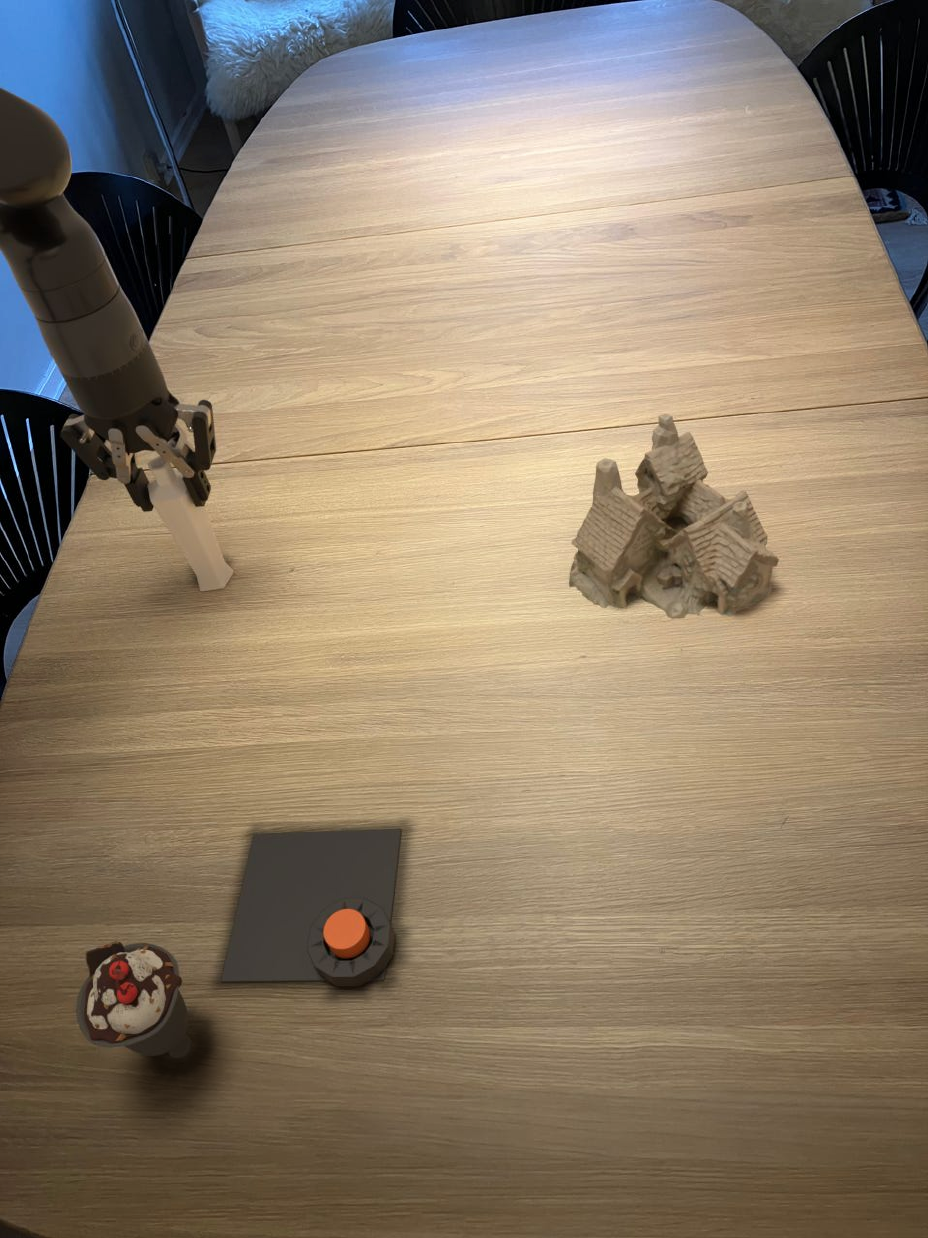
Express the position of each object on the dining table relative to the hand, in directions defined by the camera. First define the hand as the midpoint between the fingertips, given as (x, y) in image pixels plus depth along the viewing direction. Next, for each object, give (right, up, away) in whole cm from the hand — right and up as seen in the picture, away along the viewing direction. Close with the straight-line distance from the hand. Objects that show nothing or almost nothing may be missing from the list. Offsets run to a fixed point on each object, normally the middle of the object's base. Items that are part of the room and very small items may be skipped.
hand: (176, 502), depth 97 cm
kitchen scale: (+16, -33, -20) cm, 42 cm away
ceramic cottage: (+46, -8, -3) cm, 46 cm away
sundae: (+8, -41, -25) cm, 49 cm away
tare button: (+19, -33, -25) cm, 46 cm away
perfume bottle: (+2, -7, +8) cm, 11 cm away
